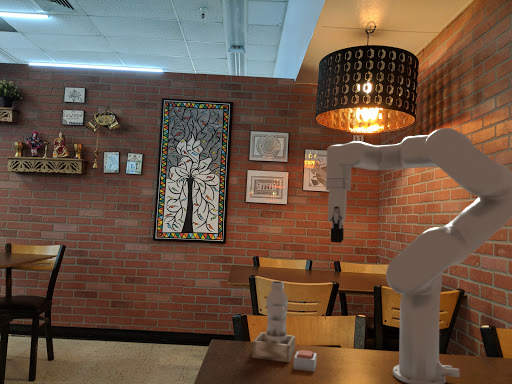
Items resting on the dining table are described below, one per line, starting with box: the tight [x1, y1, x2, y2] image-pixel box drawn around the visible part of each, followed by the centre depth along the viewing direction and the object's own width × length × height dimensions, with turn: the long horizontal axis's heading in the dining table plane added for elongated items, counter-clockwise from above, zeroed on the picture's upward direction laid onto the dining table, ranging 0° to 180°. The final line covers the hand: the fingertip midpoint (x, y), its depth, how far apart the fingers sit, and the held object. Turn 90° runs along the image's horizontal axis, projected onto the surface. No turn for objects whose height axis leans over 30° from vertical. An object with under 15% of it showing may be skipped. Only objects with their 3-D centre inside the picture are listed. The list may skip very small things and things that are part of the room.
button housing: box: [293, 350, 317, 373], centre depth 109 cm, size 5×5×3 cm
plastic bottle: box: [265, 280, 289, 344], centre depth 119 cm, size 6×7×20 cm
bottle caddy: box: [252, 331, 296, 363], centre depth 118 cm, size 11×10×4 cm
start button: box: [298, 349, 314, 359], centre depth 109 cm, size 4×4×3 cm
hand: (337, 241), depth 123 cm, fingers open, 9 cm apart
